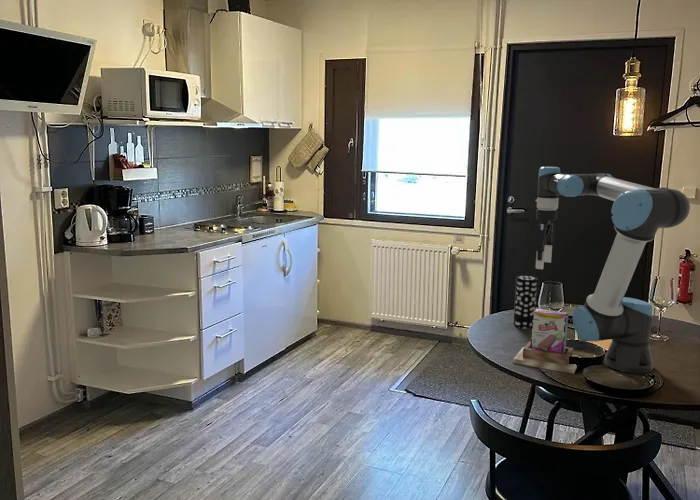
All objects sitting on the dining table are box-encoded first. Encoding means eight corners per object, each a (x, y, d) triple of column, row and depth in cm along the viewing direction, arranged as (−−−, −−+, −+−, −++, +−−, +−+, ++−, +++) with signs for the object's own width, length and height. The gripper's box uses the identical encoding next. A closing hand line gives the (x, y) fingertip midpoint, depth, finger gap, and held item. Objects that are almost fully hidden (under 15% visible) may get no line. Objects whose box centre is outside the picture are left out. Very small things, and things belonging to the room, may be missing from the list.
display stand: (580, 360, 224) (581, 347, 223) (573, 373, 211) (574, 359, 211) (523, 350, 233) (523, 338, 232) (513, 362, 221) (513, 349, 220)
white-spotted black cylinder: (535, 329, 258) (538, 280, 254) (513, 327, 259) (516, 279, 256) (533, 323, 266) (536, 276, 262) (513, 321, 267) (515, 275, 264)
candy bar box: (529, 357, 222) (532, 311, 219) (532, 352, 226) (535, 307, 223) (563, 362, 217) (566, 315, 214) (565, 358, 221) (568, 312, 218)
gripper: (543, 204, 249) (540, 258, 253) (528, 212, 228) (525, 270, 232) (563, 206, 246) (560, 260, 250) (550, 213, 224) (546, 272, 228)
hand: (543, 265), depth 241 cm, fingers open, 13 cm apart
